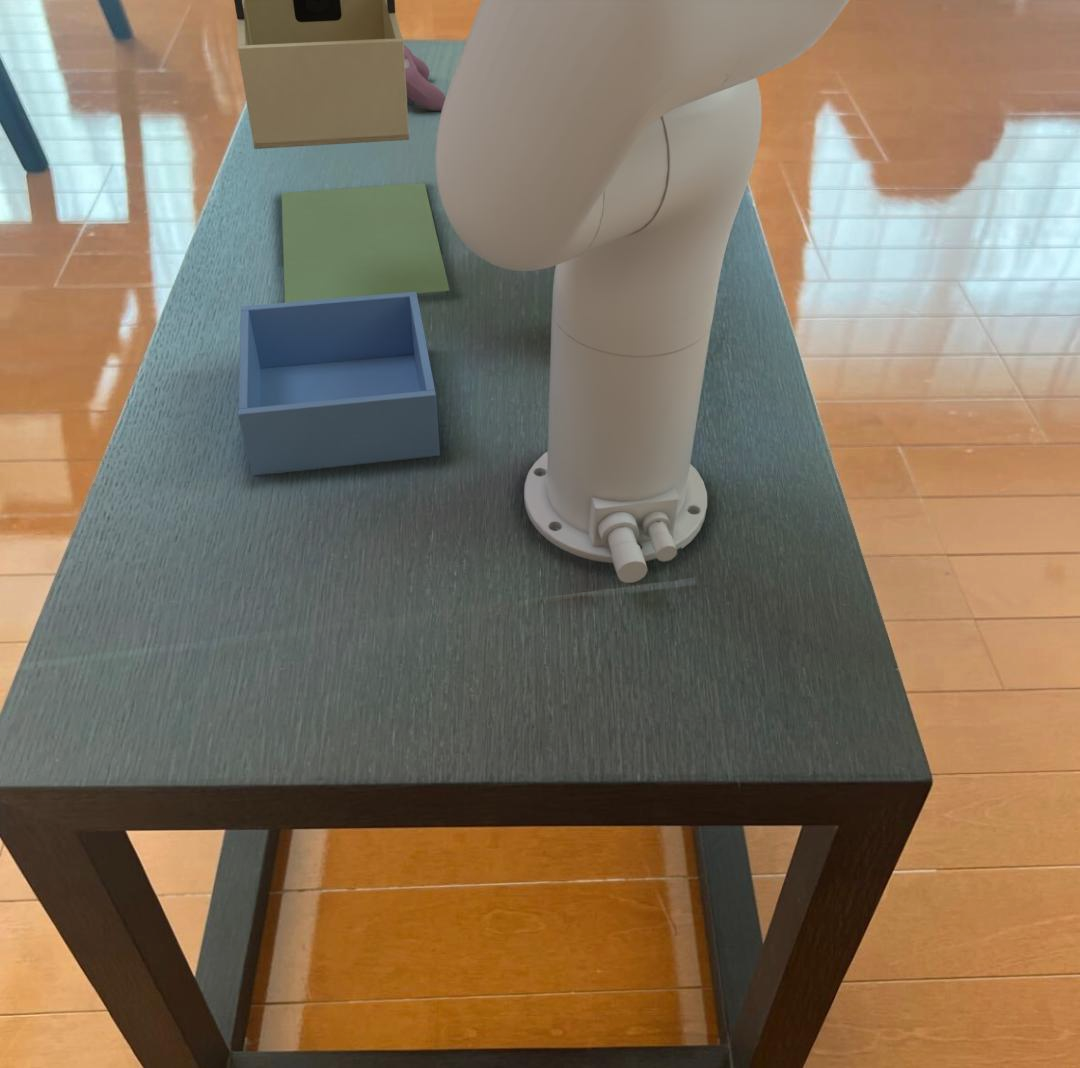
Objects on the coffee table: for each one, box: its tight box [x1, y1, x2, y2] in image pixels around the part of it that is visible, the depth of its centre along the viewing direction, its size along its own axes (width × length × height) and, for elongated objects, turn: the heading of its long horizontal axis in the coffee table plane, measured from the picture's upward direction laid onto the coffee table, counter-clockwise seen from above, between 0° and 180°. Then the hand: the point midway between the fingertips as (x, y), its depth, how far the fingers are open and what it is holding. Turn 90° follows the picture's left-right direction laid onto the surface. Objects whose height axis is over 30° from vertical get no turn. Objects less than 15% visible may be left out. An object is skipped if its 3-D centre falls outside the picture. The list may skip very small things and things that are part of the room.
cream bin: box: [233, 0, 410, 150], centre depth 77 cm, size 11×11×11 cm
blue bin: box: [237, 292, 441, 476], centre depth 79 cm, size 13×13×6 cm
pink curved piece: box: [404, 45, 446, 112], centre depth 120 cm, size 10×5×7 cm, turn 17°
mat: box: [281, 182, 451, 303], centre depth 99 cm, size 20×14×1 cm
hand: (317, 12), depth 76 cm, fingers closed on cream bin, 1 cm apart
